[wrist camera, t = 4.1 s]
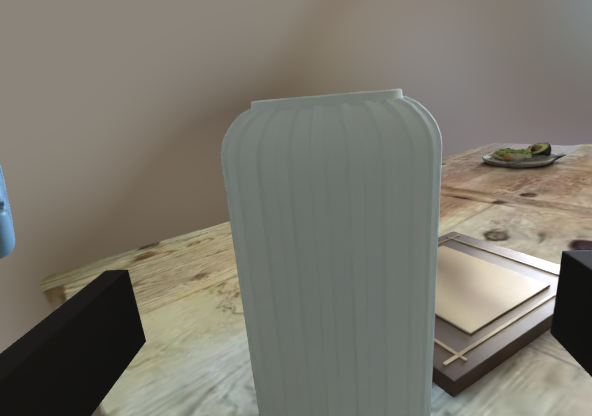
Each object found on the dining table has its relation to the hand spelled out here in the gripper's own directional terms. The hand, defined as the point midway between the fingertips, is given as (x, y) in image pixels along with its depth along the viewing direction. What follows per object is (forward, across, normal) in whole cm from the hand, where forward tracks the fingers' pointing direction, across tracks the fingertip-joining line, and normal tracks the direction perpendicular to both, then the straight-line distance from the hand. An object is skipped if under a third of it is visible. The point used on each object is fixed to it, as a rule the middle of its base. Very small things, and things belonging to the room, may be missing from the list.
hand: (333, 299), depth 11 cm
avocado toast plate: (+92, +52, -16) cm, 107 cm away
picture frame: (+26, +13, -16) cm, 33 cm away
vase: (+10, 0, -16) cm, 19 cm away
